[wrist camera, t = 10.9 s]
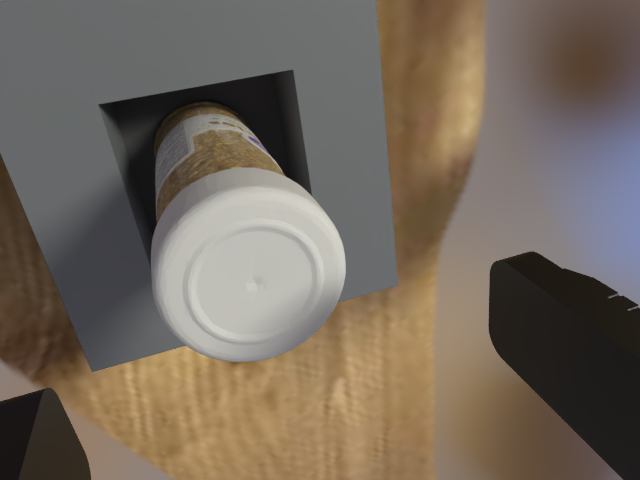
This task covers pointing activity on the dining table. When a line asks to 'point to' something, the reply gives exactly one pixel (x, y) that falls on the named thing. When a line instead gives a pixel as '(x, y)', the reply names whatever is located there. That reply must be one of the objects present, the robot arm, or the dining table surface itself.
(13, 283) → the dining table surface
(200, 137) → the sprinkles bottle
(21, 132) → the well block
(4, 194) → the dining table surface
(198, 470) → the dining table surface
